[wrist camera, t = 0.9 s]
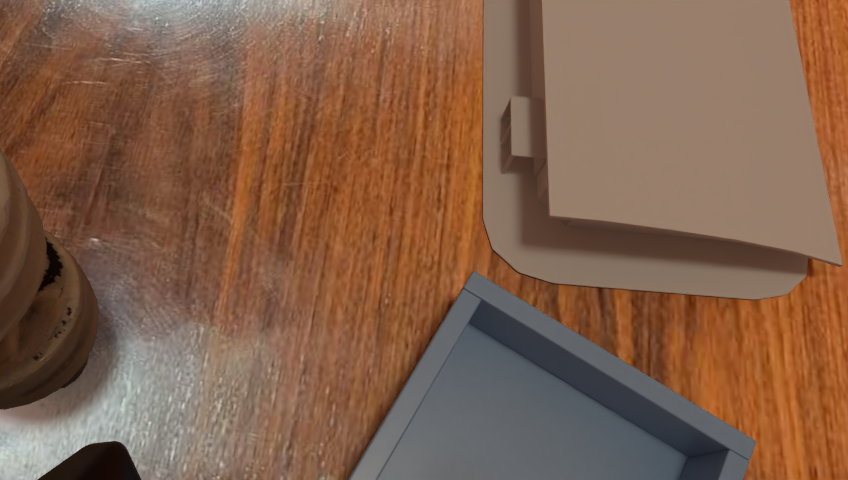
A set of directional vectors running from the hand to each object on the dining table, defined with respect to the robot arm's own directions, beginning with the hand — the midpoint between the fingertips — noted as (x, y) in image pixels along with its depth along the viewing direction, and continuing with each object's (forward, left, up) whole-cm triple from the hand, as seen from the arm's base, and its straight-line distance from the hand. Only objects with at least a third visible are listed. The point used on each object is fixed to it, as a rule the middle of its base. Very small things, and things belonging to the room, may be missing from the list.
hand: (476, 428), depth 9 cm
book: (+23, -1, -19) cm, 30 cm away
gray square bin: (+2, -5, -19) cm, 20 cm away
